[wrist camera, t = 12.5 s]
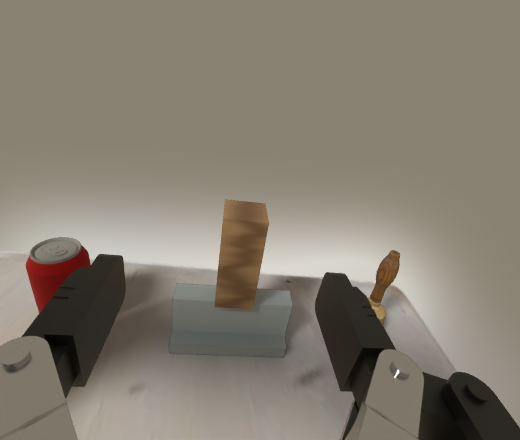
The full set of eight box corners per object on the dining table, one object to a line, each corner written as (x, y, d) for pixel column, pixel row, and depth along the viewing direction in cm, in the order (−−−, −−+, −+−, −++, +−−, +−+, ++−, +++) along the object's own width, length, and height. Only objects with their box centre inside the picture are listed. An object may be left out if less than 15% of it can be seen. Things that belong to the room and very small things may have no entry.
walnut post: (214, 307, 37) (223, 218, 31) (216, 281, 41) (225, 199, 35) (252, 309, 37) (268, 223, 31) (251, 283, 42) (265, 203, 36)
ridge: (169, 353, 39) (168, 310, 35) (178, 313, 45) (179, 273, 41) (283, 357, 41) (295, 317, 37) (277, 319, 47) (287, 281, 43)
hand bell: (387, 361, 43) (432, 278, 36) (332, 339, 45) (364, 257, 38) (386, 322, 50) (424, 247, 43) (339, 305, 52) (367, 230, 45)
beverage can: (81, 293, 46) (69, 229, 40) (107, 314, 43) (98, 248, 38) (33, 318, 41) (11, 248, 35) (59, 344, 38) (40, 272, 32)
